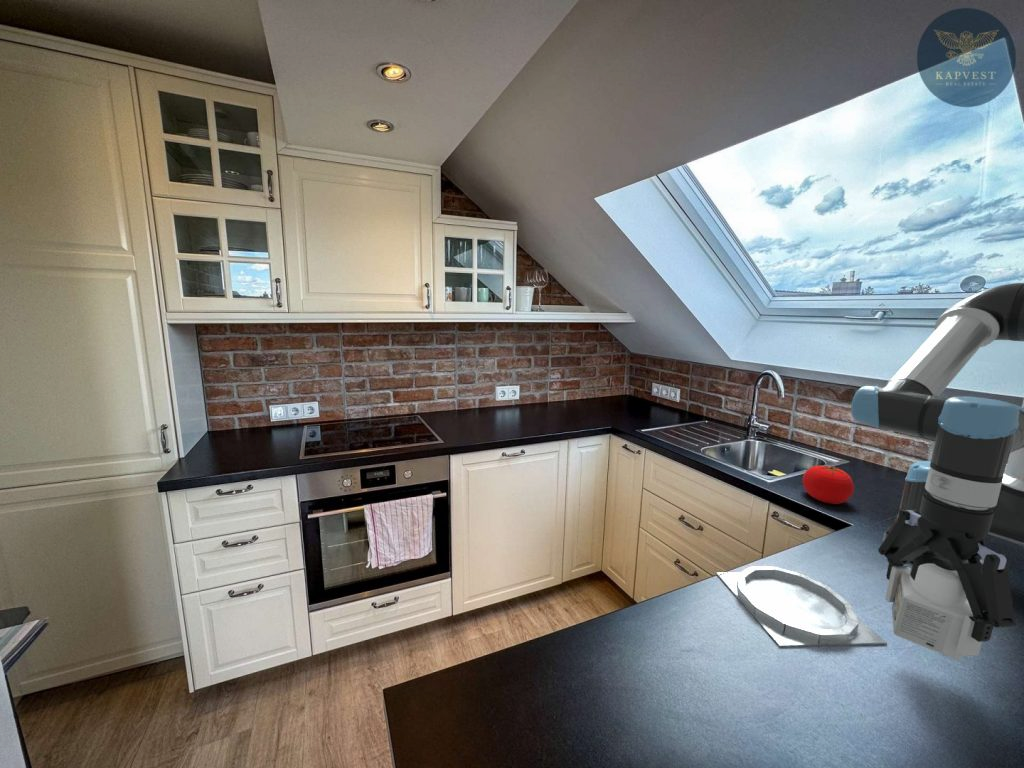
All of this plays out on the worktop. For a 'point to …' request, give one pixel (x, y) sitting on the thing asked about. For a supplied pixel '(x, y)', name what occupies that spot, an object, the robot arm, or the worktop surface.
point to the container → (931, 606)
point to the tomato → (828, 484)
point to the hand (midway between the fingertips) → (927, 625)
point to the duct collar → (798, 608)
